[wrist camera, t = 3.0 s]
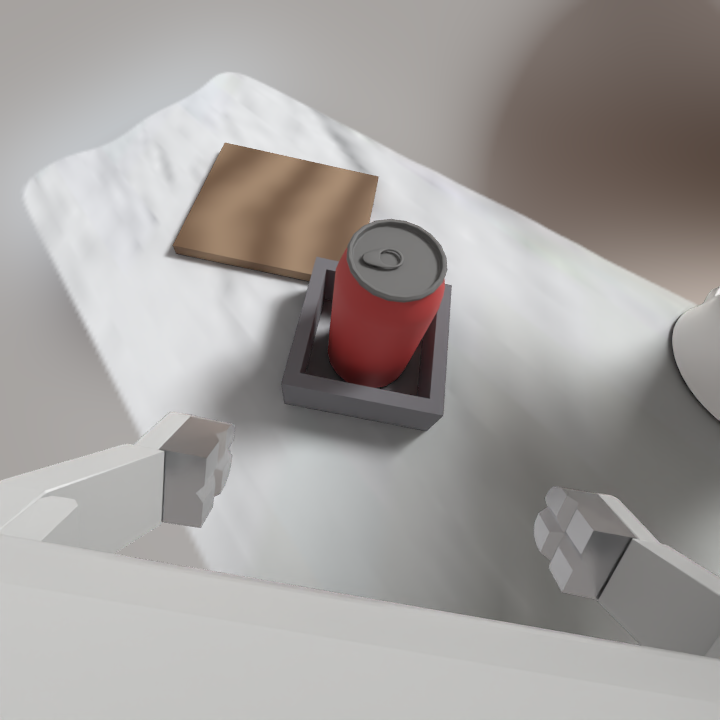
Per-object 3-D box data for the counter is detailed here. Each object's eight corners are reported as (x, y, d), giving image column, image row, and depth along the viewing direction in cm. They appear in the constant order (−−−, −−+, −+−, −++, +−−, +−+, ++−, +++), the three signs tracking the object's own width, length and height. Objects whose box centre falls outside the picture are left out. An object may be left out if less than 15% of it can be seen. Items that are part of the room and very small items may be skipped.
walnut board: (376, 184, 40) (378, 176, 39) (355, 290, 34) (356, 284, 33) (226, 151, 39) (224, 142, 38) (176, 253, 33) (172, 245, 32)
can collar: (436, 312, 34) (451, 285, 30) (426, 430, 29) (443, 415, 25) (315, 287, 33) (316, 256, 30) (284, 403, 28) (281, 383, 25)
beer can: (324, 321, 32) (332, 210, 21) (399, 318, 33) (443, 211, 22) (330, 394, 29) (343, 309, 18) (412, 388, 30) (469, 306, 19)
